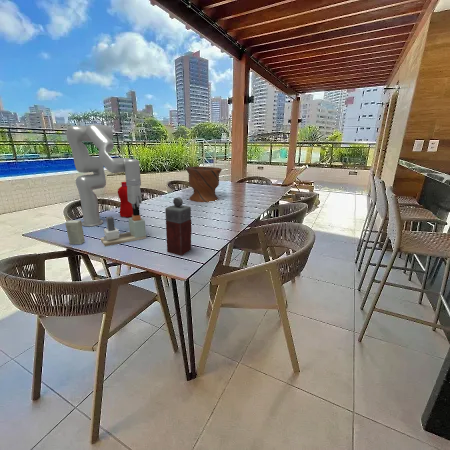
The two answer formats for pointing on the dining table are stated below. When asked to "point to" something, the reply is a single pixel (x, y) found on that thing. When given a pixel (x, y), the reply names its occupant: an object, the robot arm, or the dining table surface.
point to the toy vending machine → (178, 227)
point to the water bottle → (124, 202)
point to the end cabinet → (137, 227)
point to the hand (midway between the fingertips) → (136, 214)
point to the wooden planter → (203, 183)
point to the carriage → (111, 229)
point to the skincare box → (75, 231)
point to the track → (120, 239)
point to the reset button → (136, 217)
